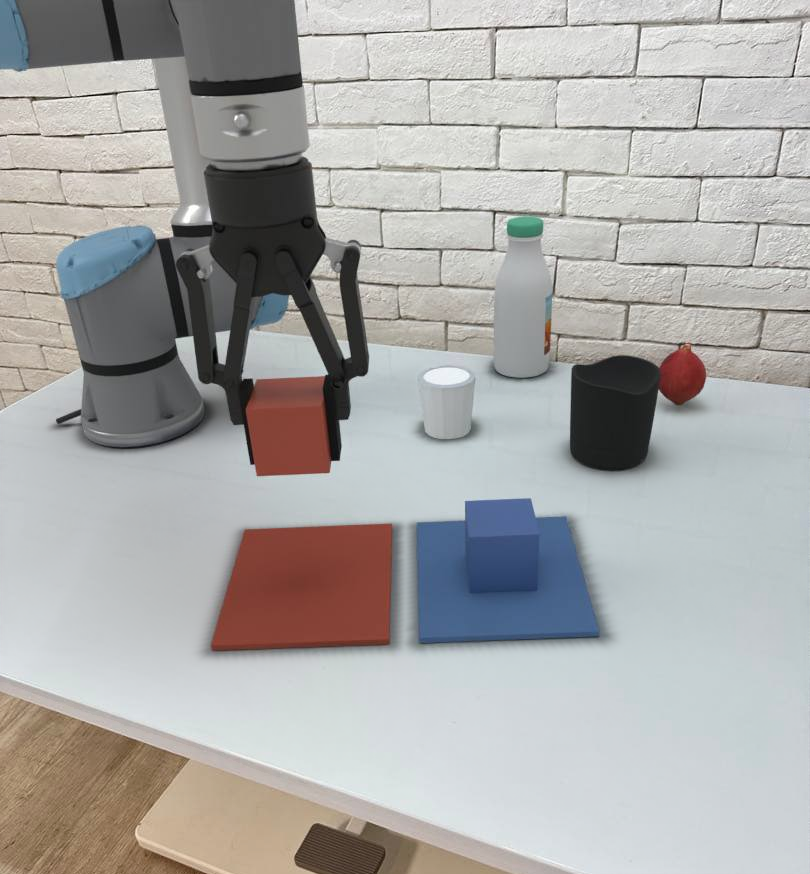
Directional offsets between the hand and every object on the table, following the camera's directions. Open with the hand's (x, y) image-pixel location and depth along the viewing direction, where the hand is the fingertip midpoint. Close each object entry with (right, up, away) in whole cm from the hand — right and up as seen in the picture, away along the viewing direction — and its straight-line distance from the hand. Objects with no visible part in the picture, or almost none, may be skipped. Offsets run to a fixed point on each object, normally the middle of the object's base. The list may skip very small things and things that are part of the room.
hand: (296, 454), depth 72 cm
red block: (0, 0, 0) cm, 0 cm away
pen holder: (+32, +3, +26) cm, 41 cm away
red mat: (0, -11, +7) cm, 13 cm away
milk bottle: (+25, +17, +47) cm, 56 cm away
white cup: (+14, +6, +33) cm, 36 cm away
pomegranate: (+43, +10, +35) cm, 57 cm away
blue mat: (+18, -11, +7) cm, 22 cm away
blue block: (+18, -10, +6) cm, 21 cm away
